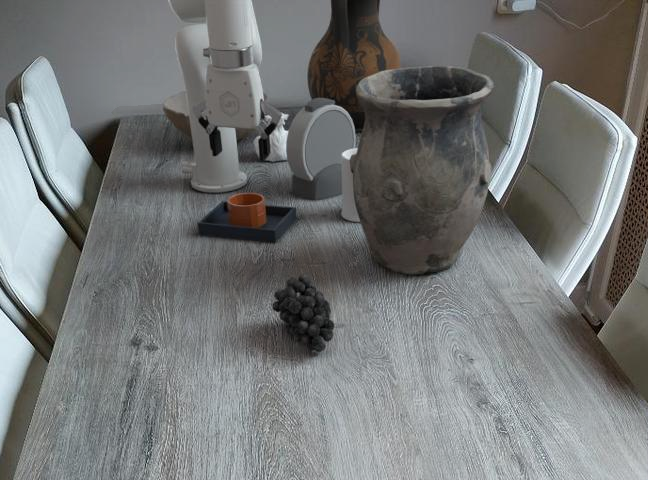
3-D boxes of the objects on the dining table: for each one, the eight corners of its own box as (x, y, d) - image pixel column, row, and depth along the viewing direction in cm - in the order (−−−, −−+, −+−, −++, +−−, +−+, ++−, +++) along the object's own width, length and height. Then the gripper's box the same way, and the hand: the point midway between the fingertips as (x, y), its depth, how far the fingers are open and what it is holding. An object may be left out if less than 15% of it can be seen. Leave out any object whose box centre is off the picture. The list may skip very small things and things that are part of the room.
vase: (403, 136, 203) (407, -26, 180) (307, 138, 203) (300, -22, 181) (398, 109, 221) (401, -40, 199) (310, 112, 222) (304, -36, 200)
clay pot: (329, 256, 147) (323, 79, 128) (422, 224, 157) (430, 56, 138) (408, 298, 133) (415, 107, 114) (505, 261, 143) (526, 79, 124)
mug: (396, 204, 166) (397, 145, 158) (401, 220, 160) (403, 158, 152) (339, 207, 166) (338, 148, 158) (343, 223, 159) (341, 162, 152)
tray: (198, 234, 157) (197, 223, 155) (223, 212, 166) (222, 200, 164) (275, 242, 153) (274, 230, 151) (296, 219, 162) (295, 207, 160)
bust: (304, 164, 194) (298, 118, 194) (306, 152, 187) (300, 104, 186) (255, 169, 193) (249, 122, 193) (256, 157, 186) (249, 108, 185)
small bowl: (224, 229, 157) (221, 204, 154) (238, 216, 162) (236, 191, 159) (258, 233, 155) (256, 207, 152) (271, 219, 161) (269, 194, 157)
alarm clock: (333, 174, 182) (330, 87, 170) (365, 184, 176) (364, 95, 165) (280, 193, 174) (273, 103, 162) (312, 204, 168) (308, 112, 156)
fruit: (333, 304, 113) (308, 259, 124) (280, 329, 113) (260, 282, 124) (352, 351, 118) (327, 304, 129) (301, 375, 119) (281, 326, 130)
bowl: (291, 133, 207) (288, 91, 201) (228, 163, 191) (223, 118, 184) (213, 120, 219) (208, 81, 212) (147, 147, 202) (140, 105, 195)
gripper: (177, 59, 140) (191, 159, 151) (269, 65, 135) (276, 167, 147) (195, 49, 145) (207, 146, 156) (284, 54, 141) (290, 153, 152)
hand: (240, 156), depth 151 cm, fingers open, 9 cm apart
